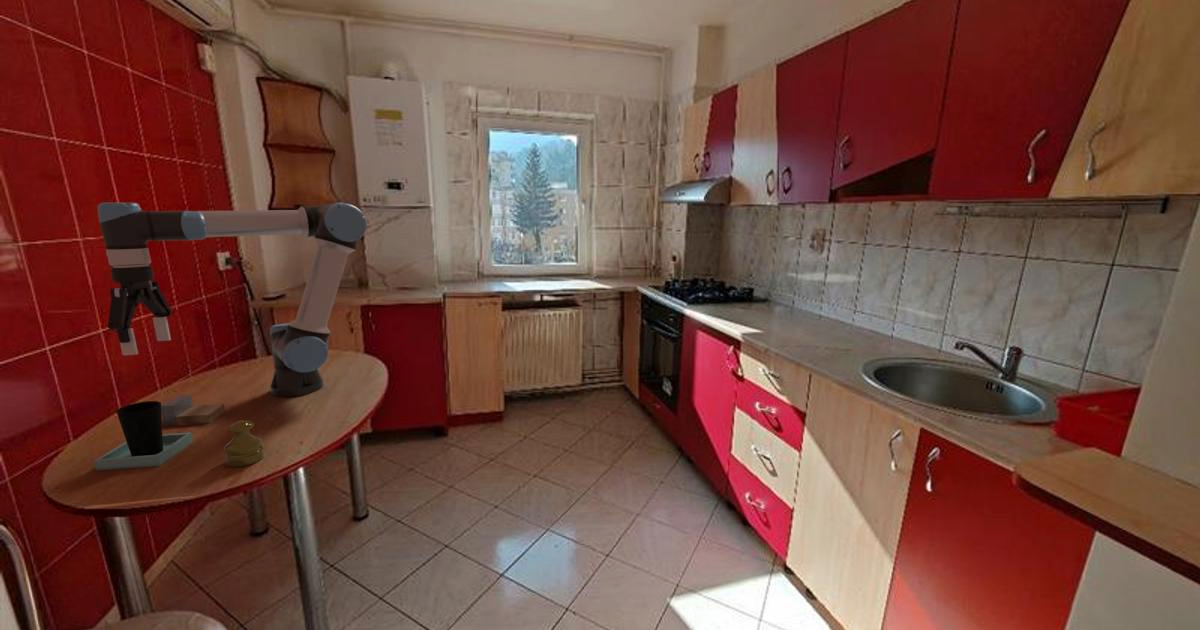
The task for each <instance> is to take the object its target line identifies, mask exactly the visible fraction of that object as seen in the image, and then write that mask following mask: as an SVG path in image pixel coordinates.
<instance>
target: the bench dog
mask: <svg viewBox="0 0 1200 630" xmlns="http://www.w3.org/2000/svg"><path fill="white" fill-rule="evenodd" d="M192 406H194V405H193V399H192V394H183V395H178V396H176V397H174V398H172V399H169V401H167V402H165V403H164V404H161V413H162V425H163V427H171V426H174V427H175V426H178V425H177V422H176V416H177V415H179V414H181V413H182V412H184V411H185V410H187V409H189V408H190V407H192Z"/></svg>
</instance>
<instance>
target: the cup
mask: <svg viewBox="0 0 1200 630" xmlns="http://www.w3.org/2000/svg"><path fill="white" fill-rule="evenodd" d="M161 405H162V402H160V401H156V400H148V401H140V402H136V403H135V402H134V403H131V404H127V405H125V406H123V407H120V408H118V409H117V410H116V415H117V417H118V418H117V419H118V420H119V424H120V427H121V430H122V433H123V435H124V438H125V442H126V441H127V444H128V447H129V450H130V453H131V456H132V457H134V456H147V455H156V454H158V453H160V452H162V451H163V436H162V435H163V419H162V413H161Z"/></svg>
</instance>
